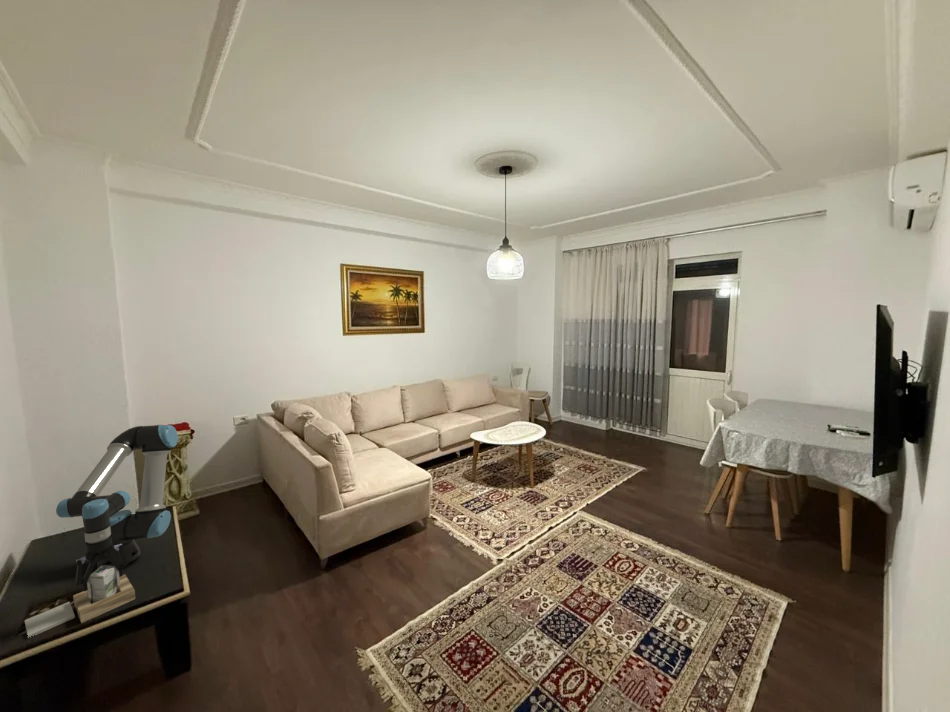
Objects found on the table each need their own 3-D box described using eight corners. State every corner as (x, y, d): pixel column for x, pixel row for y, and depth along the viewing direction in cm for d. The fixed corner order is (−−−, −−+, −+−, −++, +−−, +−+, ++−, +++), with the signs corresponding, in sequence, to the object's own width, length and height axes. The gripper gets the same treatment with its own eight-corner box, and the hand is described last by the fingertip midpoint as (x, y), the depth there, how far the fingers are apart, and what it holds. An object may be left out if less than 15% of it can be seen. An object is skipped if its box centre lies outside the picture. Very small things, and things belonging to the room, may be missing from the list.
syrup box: (103, 595, 160) (100, 565, 157) (118, 595, 160) (115, 565, 158) (91, 606, 154) (87, 575, 151) (106, 606, 155) (103, 575, 152)
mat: (24, 622, 146) (24, 620, 146) (69, 603, 156) (69, 601, 156) (28, 638, 139) (27, 636, 139) (74, 617, 149) (74, 615, 149)
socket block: (74, 604, 156) (73, 595, 155) (125, 582, 168) (125, 574, 168) (81, 623, 146) (80, 614, 146) (135, 598, 159) (134, 590, 158)
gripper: (62, 554, 143) (69, 610, 145) (134, 530, 159) (139, 580, 162) (59, 547, 147) (66, 601, 150) (130, 524, 164) (134, 572, 166)
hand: (104, 590), depth 156 cm, fingers closed on syrup box, 8 cm apart
